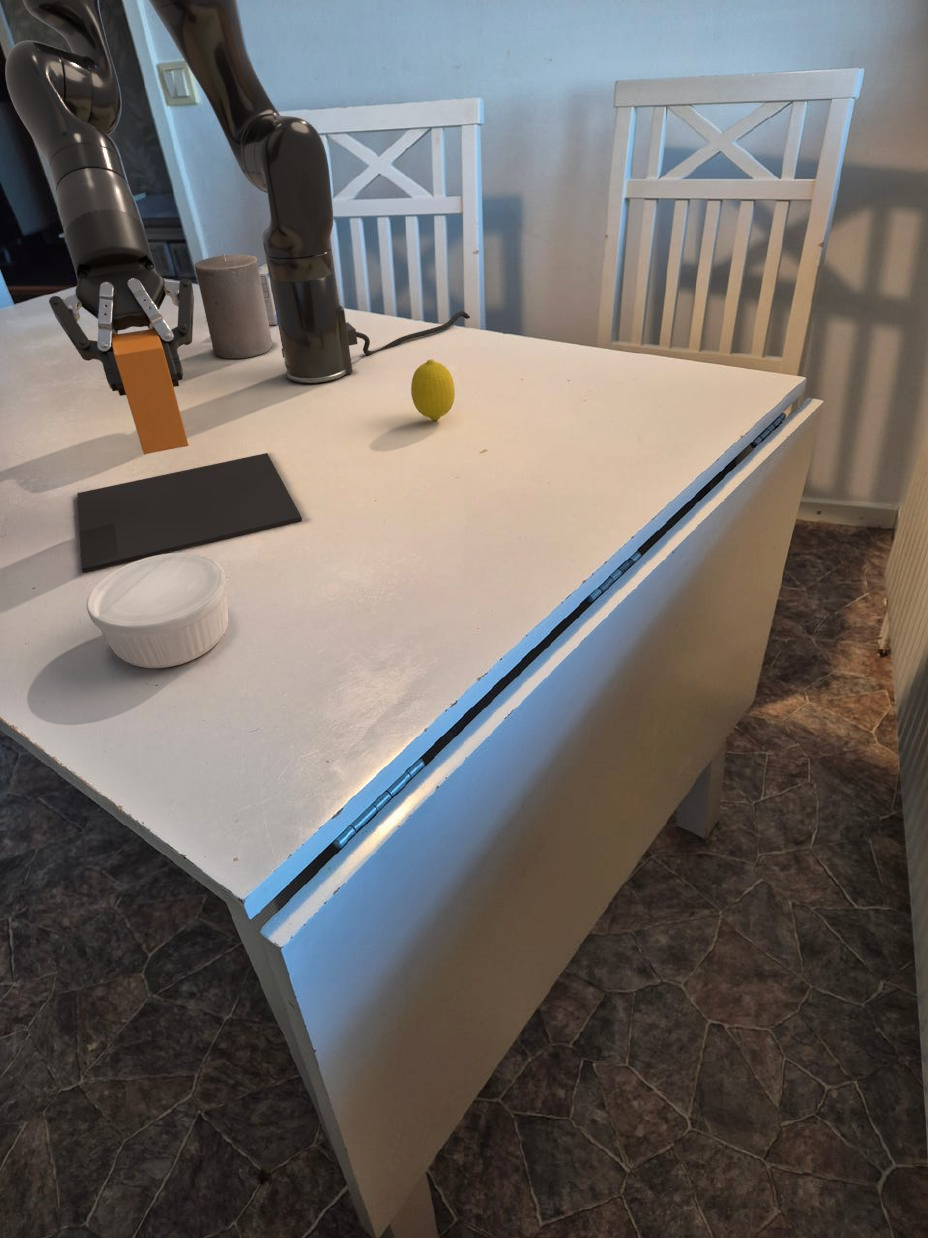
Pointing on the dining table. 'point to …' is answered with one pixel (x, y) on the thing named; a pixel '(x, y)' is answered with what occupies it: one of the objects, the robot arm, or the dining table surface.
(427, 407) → the lemon
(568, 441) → the dining table surface
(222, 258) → the pillar candle
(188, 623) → the ramekin
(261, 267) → the medicine box
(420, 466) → the dining table surface
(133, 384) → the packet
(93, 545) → the mat
